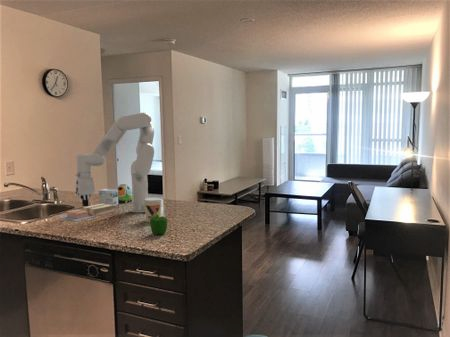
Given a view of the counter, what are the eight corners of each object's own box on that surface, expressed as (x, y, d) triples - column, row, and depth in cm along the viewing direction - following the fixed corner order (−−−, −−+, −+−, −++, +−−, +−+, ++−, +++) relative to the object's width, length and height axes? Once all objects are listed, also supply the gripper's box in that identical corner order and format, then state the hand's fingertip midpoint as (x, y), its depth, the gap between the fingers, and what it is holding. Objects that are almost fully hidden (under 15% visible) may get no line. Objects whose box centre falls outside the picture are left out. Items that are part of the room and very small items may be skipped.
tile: (77, 213, 218) (77, 218, 218) (88, 211, 223) (88, 216, 224) (66, 211, 223) (67, 216, 224) (77, 209, 229) (77, 214, 229)
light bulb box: (118, 205, 259) (118, 189, 258) (113, 206, 253) (112, 190, 252) (104, 204, 262) (103, 188, 261) (98, 206, 255) (98, 190, 254)
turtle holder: (137, 198, 282) (136, 182, 281) (128, 203, 264) (127, 186, 263) (120, 198, 283) (119, 182, 282) (110, 203, 265) (110, 186, 264)
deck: (114, 211, 237) (114, 205, 237) (95, 216, 226) (94, 209, 226) (101, 209, 244) (101, 203, 244) (82, 213, 233) (82, 207, 232)
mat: (95, 216, 224) (95, 216, 224) (75, 221, 213) (75, 220, 213) (78, 213, 233) (78, 213, 233) (58, 217, 222) (58, 217, 222)
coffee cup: (145, 222, 209) (144, 200, 208) (144, 219, 218) (143, 198, 217) (162, 221, 211) (162, 200, 210) (160, 218, 220) (160, 197, 219)
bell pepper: (168, 231, 192) (168, 211, 191) (166, 235, 183) (166, 215, 182) (151, 231, 191) (151, 211, 190) (148, 236, 183) (148, 215, 182)
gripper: (76, 176, 217) (78, 209, 219) (99, 174, 229) (100, 204, 231) (68, 176, 221) (70, 207, 223) (91, 173, 234) (92, 203, 235)
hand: (85, 206), depth 227 cm, fingers closed
